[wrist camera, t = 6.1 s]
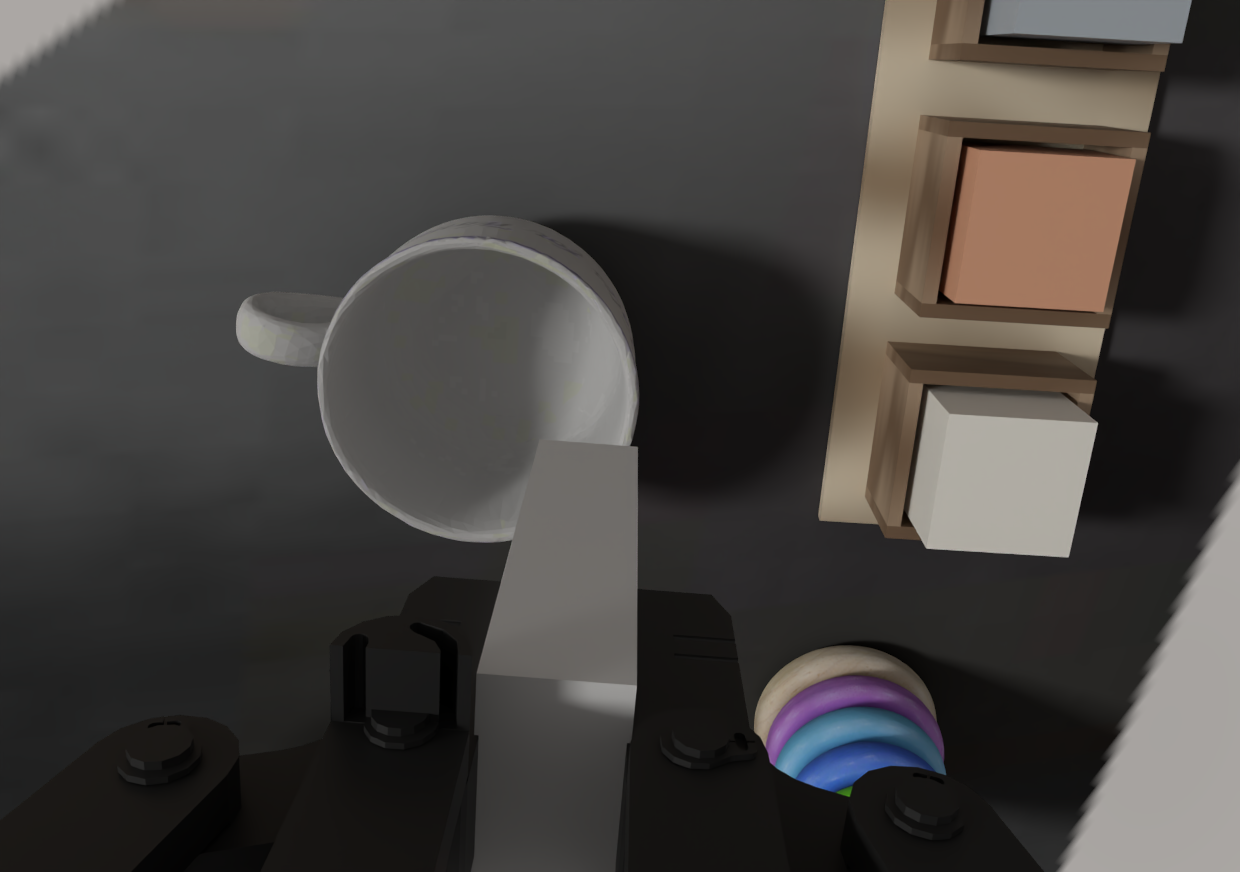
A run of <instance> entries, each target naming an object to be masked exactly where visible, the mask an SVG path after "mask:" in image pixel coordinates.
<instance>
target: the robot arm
mask: <svg viewBox="0 0 1240 872" xmlns="http://www.w3.org/2000/svg"><path fill="white" fill-rule="evenodd" d="M637 540H638V447H633V446H620V445H607V444H594V443H582V442H569V441H556V440H543V439H539V443H538V447H537V451H536V454H535V458H534V462H533V465H532V469H531V473H530V477H529V480H528V484H527V488H526V491H525V495H524V499H523V502H522V506H521V510H520V514H519V517H518V521H517V525H516V528H515V532H514V536H513V540H512V543H511V547H510V551H509V554H508V558H507V562H506V566H505V569H504V573H503V577H502V580H501V582H500V581H487V580H474V579H461V578H448V577H435V576H434V577H432V578H431V579H430V580H428V581H427V582H425V583H424V584H423V585H421V586H420V587H419V588H417V589H416V590H414V591H413V592H412V593H410V594H409V596H408V598H407V600H406V602H405V605H404V607H403V609H402V612H401V614H400V616H386V617H382V618H377V619H373V620H368V621H364V622H361V623H359V624H357V625H355V626H353V627H351V628H349V629H347V630H345V631H343V632H342V633H341V634H340V635H339V636H338V637H337V638H336V639H335V640H334V641H333V642H332V643H331V644H330V694H331V722H330V724H329V726H328V728H327V730H326V733H325V735H324V737H323V739H320V740H318V741H315V742H312V743H309V744H306V745H304V746H300V747H295V748H290V749H285V750H279V751H272V752H264V753H257V754H249V755H241V756H239V740H238V739H237V737H236V736H235V735H234V734H233V733H232V732H231V730H230V729H229V728H228V727H227V726H225V725H223V724H220V723H218V722H216V721H213V720H211V719H208V718H204V717H194V716H184V715H176V716H168V717H164V716H163V717H158V718H151V719H147V720H144V721H141V722H138V723H135V724H132V725H129V726H126V727H123V728H120V729H119V730H117V731H115V732H114V733H112V734H110V735H109V736H107V737H105V738H104V739H102V740H100V741H99V742H97V743H96V744H95V745H93V746H92V747H91V748H90V749H88V750H87V751H86V752H85V753H83V754H82V755H81V756H80V757H78V758H77V759H76V760H75V761H73V762H72V763H71V764H70V765H69V766H67V767H66V768H65V769H64V770H62V771H61V772H60V773H59V774H57V775H56V776H55V777H54V778H52V779H51V780H50V781H49V782H47V783H46V784H45V785H44V786H42V787H41V788H40V789H39V790H37V791H36V792H35V793H34V794H32V795H31V796H30V797H29V798H27V799H26V800H25V801H24V802H23V803H21V804H20V805H19V806H18V807H16V808H15V809H14V810H13V811H11V812H10V813H9V814H8V815H6V816H5V817H4V818H3V819H1V820H0V872H1044V871H1043V870H1042V869H1041V867H1040V866H1039V865H1038V864H1037V863H1036V861H1035V860H1034V859H1033V858H1032V856H1031V855H1030V854H1029V853H1028V851H1027V850H1026V849H1025V848H1024V847H1023V845H1022V844H1021V843H1020V842H1019V840H1018V839H1017V838H1016V837H1015V836H1014V834H1013V833H1012V832H1011V831H1010V829H1009V828H1008V827H1007V826H1006V825H1005V823H1004V822H1003V821H1002V820H1001V818H1000V817H999V816H998V815H997V814H996V812H995V811H994V810H993V809H992V807H991V806H990V805H989V804H988V803H986V802H985V801H984V800H983V799H982V798H981V797H980V796H979V795H978V794H976V793H975V792H974V791H973V790H972V789H971V788H969V787H967V786H965V785H963V784H962V783H960V782H958V781H956V780H954V779H952V778H950V777H948V776H946V775H944V774H940V773H937V772H934V771H930V770H927V769H923V768H919V767H907V766H887V767H883V768H879V769H875V770H870V771H868V772H866V773H865V774H864V775H863V776H861V777H860V778H859V779H858V780H856V781H855V782H854V783H853V787H852V790H851V794H850V797H848V796H845V795H842V794H838V793H835V792H831V791H828V790H825V789H821V788H818V787H815V786H812V785H810V784H807V783H804V782H802V781H799V780H796V779H794V778H793V777H791V776H789V775H787V774H786V773H784V772H782V771H780V770H778V769H777V768H776V767H775V766H774V765H772V764H771V763H770V760H769V754H768V752H767V750H766V748H765V746H764V744H763V742H762V739H761V737H760V736H759V735H757V734H756V733H755V732H754V731H753V730H751V729H750V727H749V721H748V715H747V709H746V704H745V698H744V692H743V686H742V680H741V674H740V668H739V663H738V656H737V650H736V644H735V638H734V632H733V626H732V620H731V616H730V615H729V614H728V612H727V611H726V610H725V609H724V608H723V607H722V606H721V605H720V604H719V603H718V602H717V600H716V599H715V598H714V597H713V596H712V595H707V594H694V593H681V592H668V591H655V590H642V589H637Z"/></svg>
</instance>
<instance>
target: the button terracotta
mask: <svg viewBox="0 0 1240 872" xmlns="http://www.w3.org/2000/svg"><path fill="white" fill-rule="evenodd" d="M1135 162H1136V159H1131V158H1126V157H1121V156H1117V155H1112V154H1107V153H1102V152H1097V151H1092V150H1087V149H1071V148H1054V147H1037V146H1021V145H1004V144H987V143H970V142H962V145H961V152H960V158H959V164H958V170H957V177H956V183H955V189H954V196H953V202H952V208H951V214H950V221H949V227H948V233H947V239H946V246H945V252H944V258H943V264H942V271H941V277H940V283H939V289H938V290H939V291H940V292H942V293H943V294H944V295H945V296H947V297H948V298H949V299H950V300H952V301H953V302H954V303H962V304H978V305H995V306H1011V307H1028V308H1044V309H1061V310H1077V311H1094V312H1103V311H1104V307H1105V302H1106V297H1107V293H1108V288H1109V283H1110V279H1111V274H1112V269H1113V265H1114V260H1115V255H1116V251H1117V246H1118V241H1119V237H1120V232H1121V227H1122V223H1123V218H1124V213H1125V209H1126V204H1127V199H1128V195H1129V190H1130V185H1131V181H1132V176H1133V171H1134V167H1135Z"/></svg>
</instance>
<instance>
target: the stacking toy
mask: <svg viewBox="0 0 1240 872" xmlns="http://www.w3.org/2000/svg"><path fill="white" fill-rule="evenodd" d="M754 732H755V733H756V734H757V735H759V736H760V737H761V739H762V742H763V744H764V746H765V748H766V750H767V752H768V754H769V760H770V763H771V764H772V765H774V766H775V767H776V768H777V769H778V770H780V771H782V772H784V773H786V774H787V775H789V776H791V777H793V778H794V779H796V780H799V781H802V782H804V783H807V784H810V785H812V786H815V787H818V788H821V789H825V790H828V791H831V792H835V793H838V794H842V795H845V796H848V797H850V794H851V790H852V787H853V783H854V782H855V781H856V780H858V779H859V778H860V777H861V776H863V775H864V774H865V773H866V772H868V771H870V770H875V769H879V768H883V767H887V766H907V767H919V768H923V769H927V770H930V771H934V772H937V773H940V774H944V775H946V770H945V766H944V744H943V738H942V735H941V731H940V729H939V726H938V724H937V719H936V711H935V707H934V703H933V700H932V697H931V695H930V693H929V691H928V689H927V687H926V686H925V684H924V682H923V681H922V680H921V679H920V677H919V676H918V675H917V674H916V673H915V672H914V671H913V670H912V669H911V668H910V667H909V666H907V665H906V664H905V663H903V662H902V661H900V660H899V659H897V658H895V657H893V656H891V655H889V654H887V653H885V652H882V651H879V650H876V649H873V648H868V647H863V646H852V645H841V646H831V647H826V648H821V649H818V650H815V651H811V652H809V653H807V654H804V655H802V656H800V657H799V658H797V659H795V660H793V661H792V662H790V663H789V664H787V665H786V666H785V667H783V668H782V669H781V670H780V671H779V672H778V673H777V674H776V675H775V676H774V677H773V678H772V679H771V680H770V682H769V683H768V684H767V686H766V688H765V689H764V691H763V693H762V695H761V697H760V699H759V702H758V705H757V708H756V713H755V721H754Z"/></svg>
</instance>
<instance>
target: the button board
mask: <svg viewBox="0 0 1240 872" xmlns="http://www.w3.org/2000/svg"><path fill="white" fill-rule="evenodd" d="M984 2H985V0H885V8H884V16H883V23H882V31H881V39H880V46H879V54H878V62H877V69H876V77H875V85H874V92H873V100H872V108H871V115H870V123H869V131H868V138H867V146H866V154H865V161H864V169H863V177H862V184H861V192H860V200H859V207H858V215H857V223H856V230H855V238H854V246H853V253H852V261H851V269H850V276H849V284H848V292H847V299H846V307H845V315H844V322H843V330H842V338H841V345H840V353H839V361H838V368H837V376H836V383H835V391H834V399H833V406H832V414H831V422H830V429H829V437H828V445H827V452H826V460H825V468H824V475H823V483H822V491H821V498H820V506H819V514H818V516H819V519H820V521H836V522H852V523H868V524H879V526H880V528H881V530H882V532H883V534H884V536H885V538H895V539H912V540H921V538H920V536H919V535H918V533H917V531H916V529H915V528H914V526H913V524H912V522H911V521H910V519H909V517H908V515H907V514H906V512H905V510H904V502H905V496H906V490H907V483H908V477H909V471H910V465H911V458H912V452H913V446H914V439H915V433H916V427H917V421H918V414H919V408H920V402H921V396H922V389H923V384H935V385H951V386H968V387H984V388H1001V389H1017V390H1034V391H1050V392H1060V393H1062V394H1063V395H1064V396H1065V397H1067V398H1068V399H1069V400H1070V401H1071V402H1073V403H1074V404H1075V405H1076V406H1078V407H1079V408H1080V409H1081V410H1083V411H1084V412H1085V413H1086V414H1088V415H1090V411H1091V406H1092V402H1093V397H1094V392H1095V388H1096V383H1097V380H1095V379H1094V377H1095V372H1096V368H1097V363H1098V358H1099V354H1100V349H1101V345H1102V340H1103V335H1104V331H1105V329H1108V328H1109V323H1110V319H1111V314H1112V310H1113V305H1114V301H1115V296H1116V291H1117V287H1118V282H1119V278H1120V273H1121V268H1122V264H1123V259H1124V255H1125V250H1126V245H1127V241H1128V236H1129V232H1130V227H1131V222H1132V218H1133V213H1134V209H1135V204H1136V199H1137V195H1138V190H1139V186H1140V181H1141V176H1142V172H1143V167H1144V163H1145V158H1146V153H1147V149H1148V144H1149V140H1150V135H1151V133H1148V127H1149V123H1150V118H1151V113H1152V109H1153V104H1154V100H1155V95H1156V90H1157V86H1158V81H1159V77H1160V72H1164V71H1165V66H1166V61H1167V57H1168V52H1169V48H1170V44H1139V45H1118V44H1101V43H1084V42H1067V41H1051V40H1034V39H1017V38H1000V37H983V36H979V33H980V27H981V20H982V14H983V8H984ZM962 142H970V143H987V144H1004V145H1021V146H1037V147H1054V148H1071V149H1087V150H1092V151H1097V152H1102V153H1107V154H1112V155H1117V156H1121V157H1126V158H1131V159H1136V162H1135V167H1134V171H1133V176H1132V181H1131V185H1130V190H1129V195H1128V199H1127V204H1126V209H1125V213H1124V218H1123V223H1122V227H1121V232H1120V237H1119V241H1118V246H1117V251H1116V255H1115V260H1114V265H1113V269H1112V274H1111V279H1110V283H1109V288H1108V293H1107V297H1106V302H1105V307H1104V311H1103V312H1094V311H1077V310H1061V309H1044V308H1028V307H1011V306H995V305H978V304H962V303H954V302H953V301H952V300H950V299H949V298H948V297H947V296H945V295H944V294H943V293H942V292H940V291H939V290H938V289H939V283H940V277H941V271H942V264H943V258H944V252H945V246H946V239H947V233H948V227H949V221H950V214H951V208H952V202H953V196H954V189H955V183H956V177H957V170H958V164H959V158H960V152H961V145H962Z"/></svg>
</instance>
